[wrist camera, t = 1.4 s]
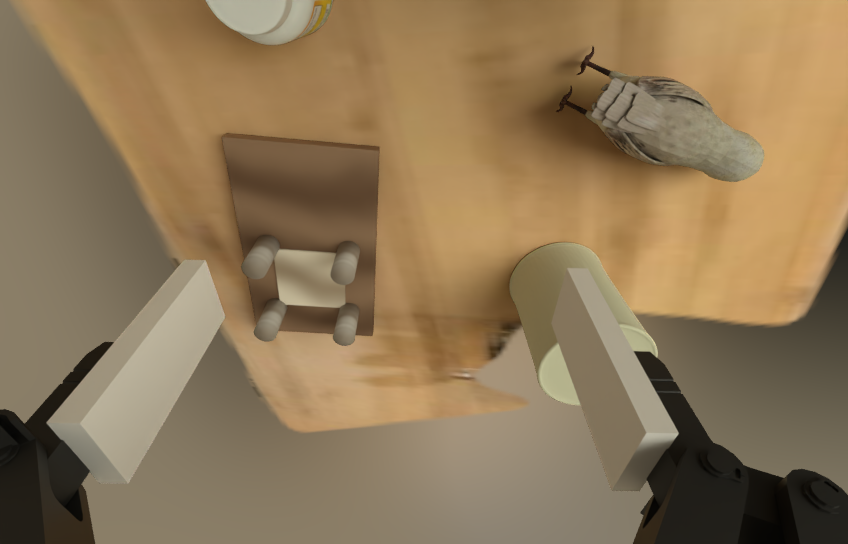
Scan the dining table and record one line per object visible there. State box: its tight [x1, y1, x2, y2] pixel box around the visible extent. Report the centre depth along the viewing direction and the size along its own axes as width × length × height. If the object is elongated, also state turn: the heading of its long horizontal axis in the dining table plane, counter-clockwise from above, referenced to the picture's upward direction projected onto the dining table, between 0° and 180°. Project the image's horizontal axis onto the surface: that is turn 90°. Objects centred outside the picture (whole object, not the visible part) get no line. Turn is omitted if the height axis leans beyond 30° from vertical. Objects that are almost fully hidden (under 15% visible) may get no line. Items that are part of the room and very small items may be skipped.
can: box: [509, 242, 658, 405], centre depth 36 cm, size 9×9×12 cm
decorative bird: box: [556, 47, 764, 182], centre depth 29 cm, size 5×16×8 cm, turn 68°
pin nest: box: [222, 133, 379, 346], centre depth 36 cm, size 20×12×5 cm, turn 175°
